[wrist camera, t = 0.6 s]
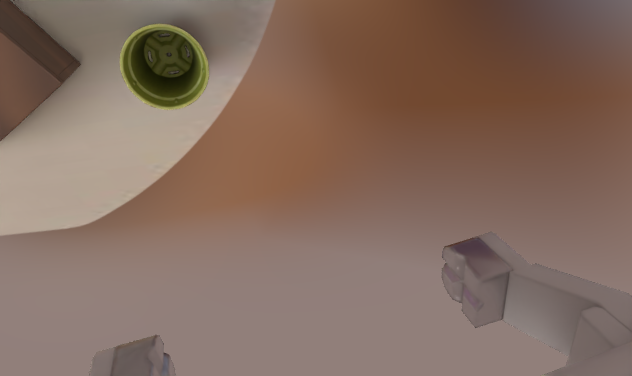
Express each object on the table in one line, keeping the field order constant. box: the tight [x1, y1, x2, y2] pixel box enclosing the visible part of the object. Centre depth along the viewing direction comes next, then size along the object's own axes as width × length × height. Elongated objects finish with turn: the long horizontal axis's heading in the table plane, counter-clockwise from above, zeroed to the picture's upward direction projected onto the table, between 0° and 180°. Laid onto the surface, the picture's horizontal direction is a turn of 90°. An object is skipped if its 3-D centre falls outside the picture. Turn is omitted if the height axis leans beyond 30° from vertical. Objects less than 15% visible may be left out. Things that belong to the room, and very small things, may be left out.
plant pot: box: [120, 24, 209, 110], centre depth 50 cm, size 9×9×9 cm
